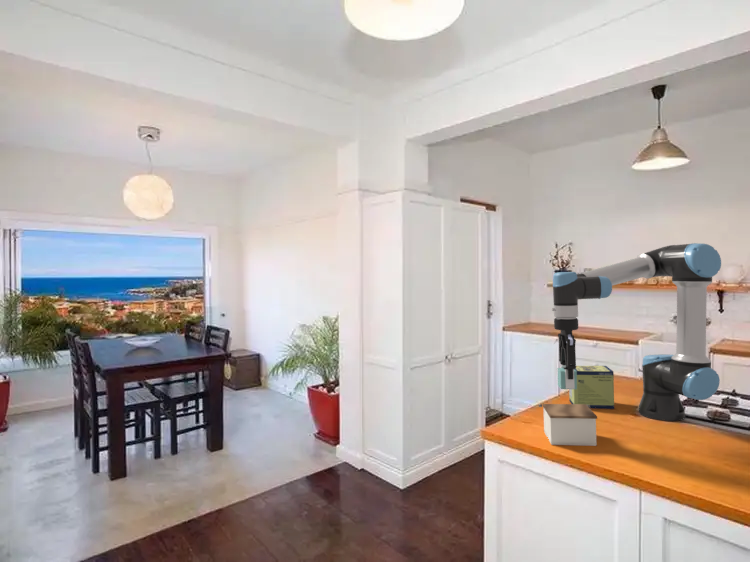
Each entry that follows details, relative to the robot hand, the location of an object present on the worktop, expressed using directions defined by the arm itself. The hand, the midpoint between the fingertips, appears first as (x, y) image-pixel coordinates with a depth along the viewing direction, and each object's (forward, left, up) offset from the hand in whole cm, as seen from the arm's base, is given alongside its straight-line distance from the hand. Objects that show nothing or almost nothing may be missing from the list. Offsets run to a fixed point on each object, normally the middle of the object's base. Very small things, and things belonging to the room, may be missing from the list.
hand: (567, 386), depth 155 cm
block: (0, 0, 0) cm, 0 cm away
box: (0, -1, -18) cm, 18 cm away
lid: (0, 0, -9) cm, 9 cm away
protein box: (-18, -40, -18) cm, 47 cm away
